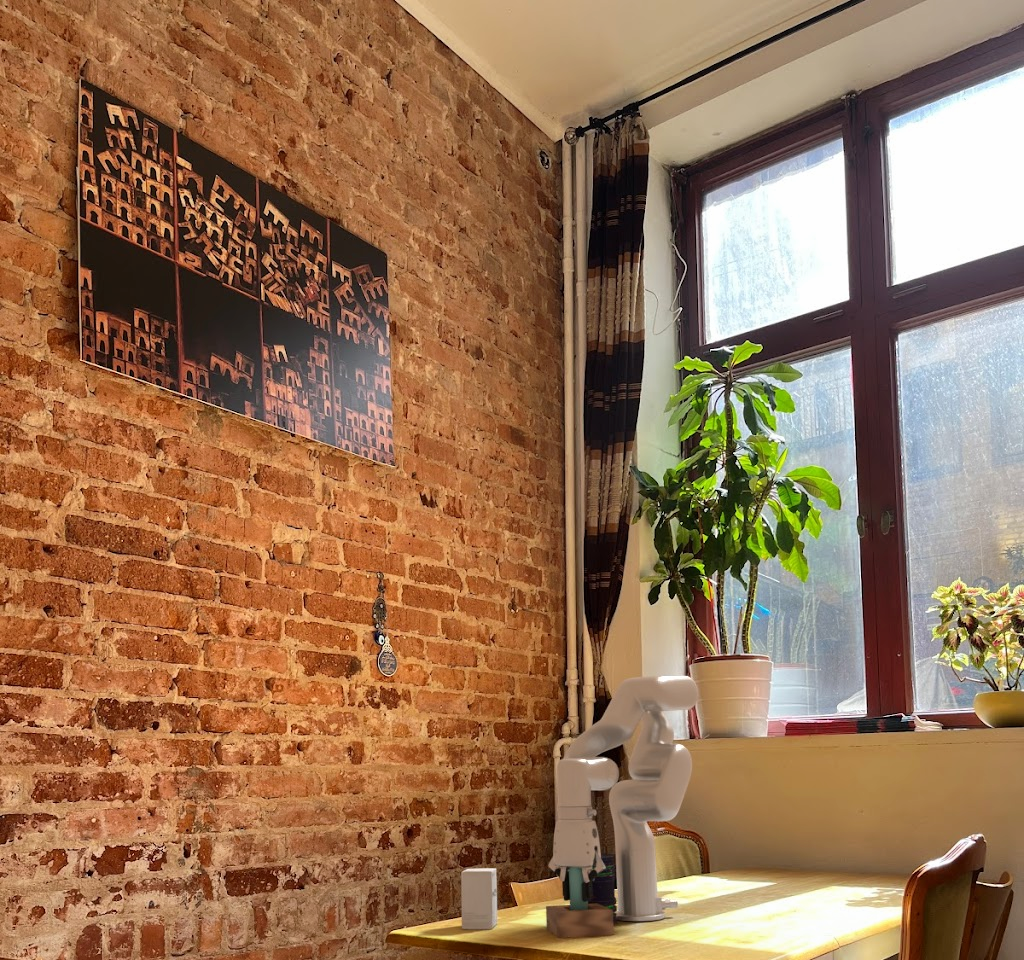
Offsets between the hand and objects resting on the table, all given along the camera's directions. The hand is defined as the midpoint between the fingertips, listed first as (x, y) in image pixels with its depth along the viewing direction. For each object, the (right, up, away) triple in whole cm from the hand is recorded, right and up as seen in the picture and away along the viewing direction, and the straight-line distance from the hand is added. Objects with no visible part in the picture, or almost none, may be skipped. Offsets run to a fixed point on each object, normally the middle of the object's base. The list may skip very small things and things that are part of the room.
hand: (577, 899), depth 251 cm
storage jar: (+5, -10, +10) cm, 15 cm away
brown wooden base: (0, -7, -2) cm, 7 cm away
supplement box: (-22, -10, +9) cm, 26 cm away
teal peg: (0, -5, -1) cm, 5 cm away
